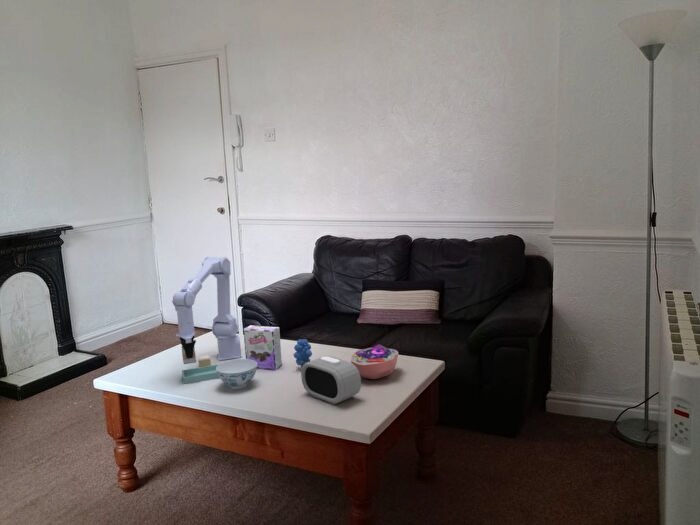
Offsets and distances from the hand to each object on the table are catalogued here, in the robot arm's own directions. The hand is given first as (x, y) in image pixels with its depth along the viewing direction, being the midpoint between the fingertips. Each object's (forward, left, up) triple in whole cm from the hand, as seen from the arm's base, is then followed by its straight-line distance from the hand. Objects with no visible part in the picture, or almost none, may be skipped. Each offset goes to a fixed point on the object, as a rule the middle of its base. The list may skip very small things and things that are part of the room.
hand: (189, 356), depth 223 cm
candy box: (-29, +1, -9) cm, 30 cm away
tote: (-4, +1, -9) cm, 10 cm away
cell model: (-65, +32, -9) cm, 73 cm away
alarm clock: (-44, +43, -9) cm, 62 cm away
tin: (0, 0, -2) cm, 2 cm away
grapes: (-44, +10, -9) cm, 46 cm away
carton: (-6, -10, -9) cm, 15 cm away
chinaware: (-16, +17, -9) cm, 25 cm away
